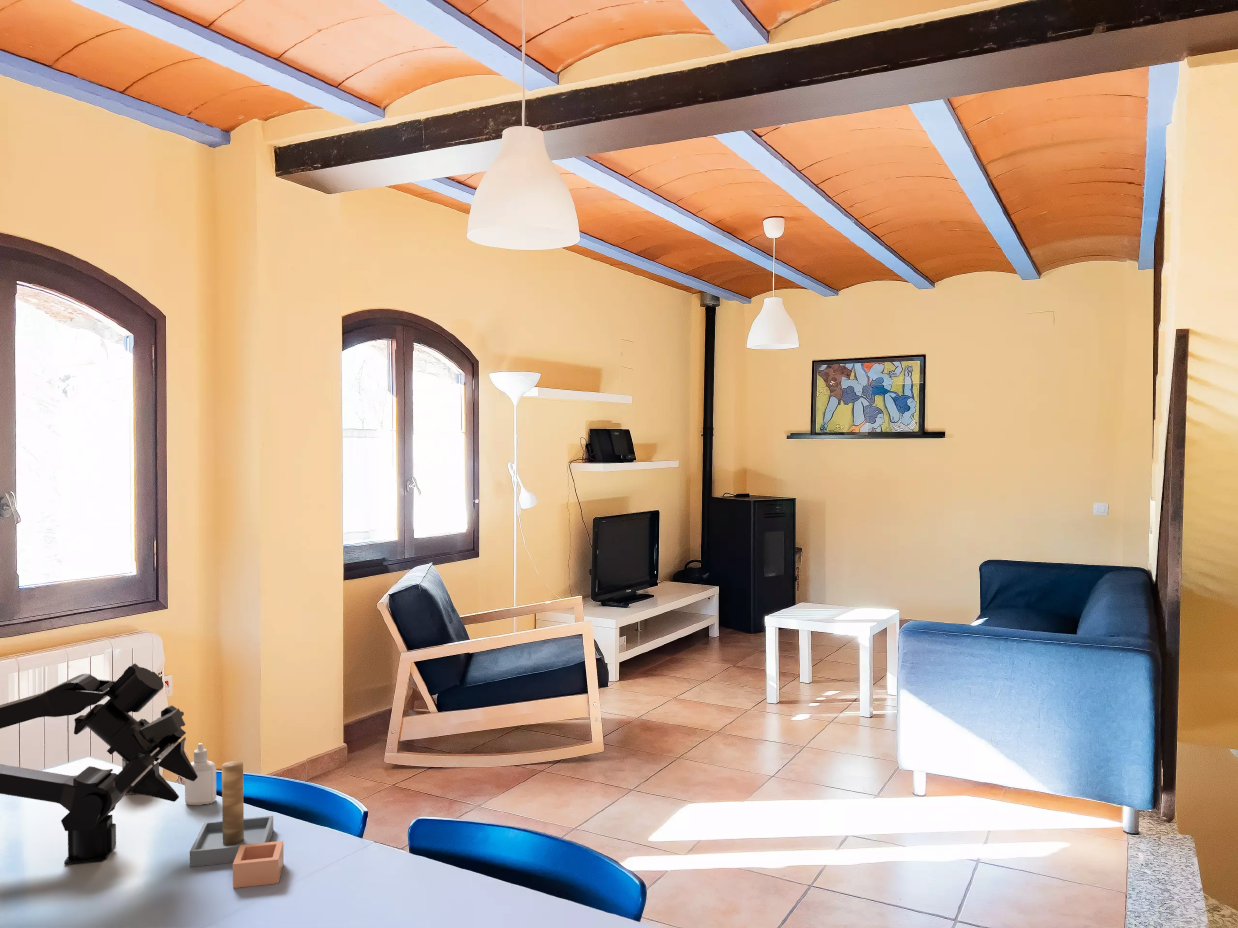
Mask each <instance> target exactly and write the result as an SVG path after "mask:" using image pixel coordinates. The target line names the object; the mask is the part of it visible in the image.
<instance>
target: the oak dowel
mask: <svg viewBox="0 0 1238 928" xmlns="http://www.w3.org/2000/svg"><path fill="white" fill-rule="evenodd" d="M221 797H222V799H221V800H222V802H221V804H222V805H221V806H222V809H221V811H222V812H221V814H222V820H221V821H222V825H223V844H224V845H228V846H230V845H236V844H239V843H241V842H243V840H244V818H245V817H244V815H245V814H244V810H245V809H244V808H245V807H244V761H241V760H231V761H226V762H225V763H223V764H221Z"/></svg>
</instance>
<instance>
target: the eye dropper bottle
mask: <svg viewBox="0 0 1238 928" xmlns="http://www.w3.org/2000/svg"><path fill="white" fill-rule="evenodd" d="M190 763H191V765H192V767H193V769H194V770H195V772H196V774H197V776H198V777H197V779H196V780H195V781H191V780H188V779H186V778H184V789H185V790H184V799H185V800H184V801H185V802H184V803H185V804H186V805H189V806H203V805H202V804H207V805H210V804H209V803H211V804H213V803H214V802H215V801H216V800H215V799H217V766H216V763H214V762H213V761H210V760H208V750H207V749H206V748H204V745H203V743H202V742H201V743H200V742H199V743H198V744H197V749H195V750H194V751H193V761H192V762H190ZM212 802H213V803H212Z"/></svg>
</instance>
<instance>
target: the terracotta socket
mask: <svg viewBox="0 0 1238 928" xmlns="http://www.w3.org/2000/svg"><path fill="white" fill-rule="evenodd" d="M284 861H285V860H284V840H279V841H278V840H277V841H270V842H267V843H257V844H247V845H240V847H239V849H238V852H237V855H236V857H235V860H234V862H233V863H232V889H238V888H246V887H247V888H249V887H255V886H265V885H273V884H274V885H275V884H279V882H280V878H281V874H282V870H283V868H284V867H283V866H284V864H285V863H284Z"/></svg>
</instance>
